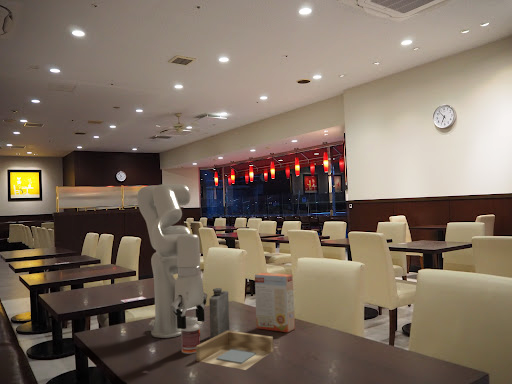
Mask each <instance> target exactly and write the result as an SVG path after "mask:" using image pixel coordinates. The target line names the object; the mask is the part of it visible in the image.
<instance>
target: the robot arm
mask: <svg viewBox="0 0 512 384" xmlns="http://www.w3.org/2000/svg"><path fill="white" fill-rule="evenodd" d="M136 195H137V197H136V198H137V200H136V201H137V206H138V208H139V212H140V213H141V215H142V217H143V219H144V220H145V223H146V227H147V228H146V229H147V231H148V235H149V241H150V244H151V247H152V248H153V249H154V250H155V252H154V253H153V254H152V256H151V259H150V260H151V261H150V262H151V263H150V264H151V268H152V274H153V285H154V286H153V287H154V313H155V314H154V317H155V318H154V319H151V320H150V322H149V323H148V326H149V327H153V329H152V330H151V331H150V332H151V336H152V337H154V338H158V339H160V338H161V339H165V338H166V339H168V338H169V339H170V338H175V337H179V336H181V329H186V317H187V316H186V315H185V314H186V312H187V310H189V309H192V308H195V317H197V322H201V323H203V322H205V309H206V304H207V299H208V293H206V292H204V285H203V279H202V272H201V270H202V269H201V252H200V251H201V249H200V248H201V247H200V237H199V235H198V234H192V233H191V232H190V231H191V230H189V228H188V227H187V226H185V225H175V224H176V223H178V222H179V221H181V219H182V216H183V212H182V209H181V207H182V206H187V205H189V203H190V201H191V192H190V190H189V187H188V186H187V185H186V184H183V183H182V184H181V183H175V184H173V183H164V184H162V183H161V184H158V185H146V186H143V187H141V188H139V190H138V191H137V194H136ZM174 275H177V277H176V278H175V277H174Z"/></svg>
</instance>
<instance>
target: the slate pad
mask: <svg viewBox="0 0 512 384" xmlns="http://www.w3.org/2000/svg"><path fill="white" fill-rule="evenodd" d="M254 355H256V353H254V352H248V351H242V350H236V349H231V350H229V351H228V352H226V353H224V354H222V355H221V356H219V357H217V358H216V359H217V360H223V361H228V362H234V363H239V364H242V363H244V362H245V361H247V360H248V359H250V358H251V357H253V356H254Z"/></svg>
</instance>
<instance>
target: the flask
mask: <svg viewBox="0 0 512 384" xmlns="http://www.w3.org/2000/svg"><path fill="white" fill-rule="evenodd" d="M212 291H213V295H211V296H210V297H209V302H208V303H209V328H210V329H209V331H210V334H209V335H210V336H209V337H210V339H211V338H213V337H215V336H217V335H219V334H221V333H223V332H225V331H227V330H228V331H230V310H229V309H230V307H229V306H230V305H229V303H230V302H229V301H230V299H229V291H228V290H223V288H222V287H221V288H220V287H218V288H217V287H215V288H212Z"/></svg>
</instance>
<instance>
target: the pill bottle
mask: <svg viewBox="0 0 512 384" xmlns="http://www.w3.org/2000/svg"><path fill="white" fill-rule="evenodd" d="M180 339H181V343H180V344H181V345H180V346H181V353H183V354H188V355H189V354H196V346H197V345H199V344H201V326H200V324H199V323H198V321H197V317H196V316H186V329H181V335H180Z"/></svg>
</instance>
